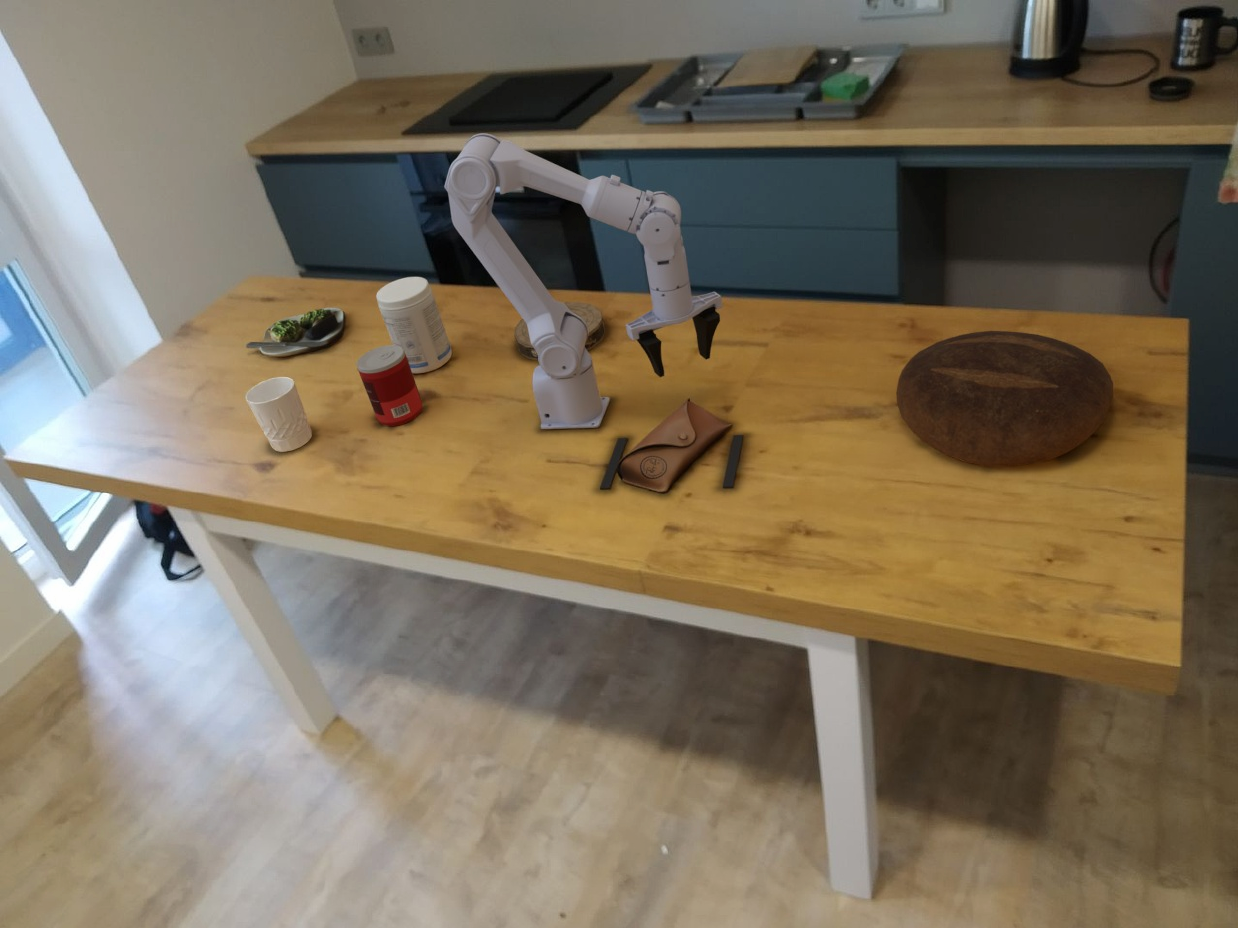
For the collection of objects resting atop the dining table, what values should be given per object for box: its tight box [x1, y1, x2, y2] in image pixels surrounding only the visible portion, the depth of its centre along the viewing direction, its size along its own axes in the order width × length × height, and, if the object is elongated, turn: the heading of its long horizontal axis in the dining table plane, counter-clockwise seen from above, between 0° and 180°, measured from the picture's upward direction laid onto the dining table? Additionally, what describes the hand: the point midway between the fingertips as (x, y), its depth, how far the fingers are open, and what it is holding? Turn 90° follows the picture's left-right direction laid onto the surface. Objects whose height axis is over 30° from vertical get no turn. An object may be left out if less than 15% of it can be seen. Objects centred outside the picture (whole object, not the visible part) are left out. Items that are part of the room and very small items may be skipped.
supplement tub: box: [375, 276, 453, 374], centre depth 174 cm, size 10×10×15 cm
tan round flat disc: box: [513, 301, 606, 362], centre depth 175 cm, size 16×16×3 cm
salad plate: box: [245, 306, 346, 357], centre depth 194 cm, size 19×18×5 cm
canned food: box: [356, 344, 423, 427], centre depth 161 cm, size 8×8×11 cm
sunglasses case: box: [616, 397, 733, 493], centre depth 140 cm, size 18×7×7 cm
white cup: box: [244, 376, 313, 453], centre depth 161 cm, size 8×8×10 cm
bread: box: [896, 330, 1114, 467], centre depth 133 cm, size 28×27×9 cm
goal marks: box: [599, 434, 744, 490], centre depth 139 cm, size 19×12×1 cm, turn 78°
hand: (682, 365), depth 147 cm, fingers open, 7 cm apart
